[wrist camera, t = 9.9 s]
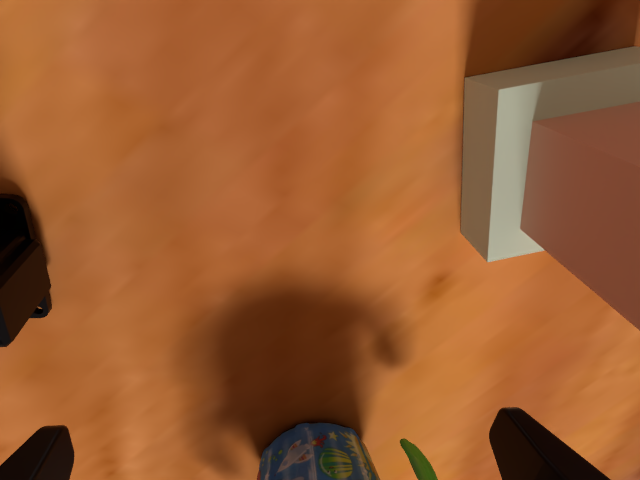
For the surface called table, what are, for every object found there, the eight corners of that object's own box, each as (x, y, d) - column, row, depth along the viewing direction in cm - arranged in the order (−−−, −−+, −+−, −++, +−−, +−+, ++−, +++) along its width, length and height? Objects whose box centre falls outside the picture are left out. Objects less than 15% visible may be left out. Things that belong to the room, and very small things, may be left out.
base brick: (460, 232, 23) (487, 262, 20) (464, 77, 19) (498, 89, 16) (601, 204, 23) (645, 229, 20) (634, 46, 19) (695, 52, 16)
